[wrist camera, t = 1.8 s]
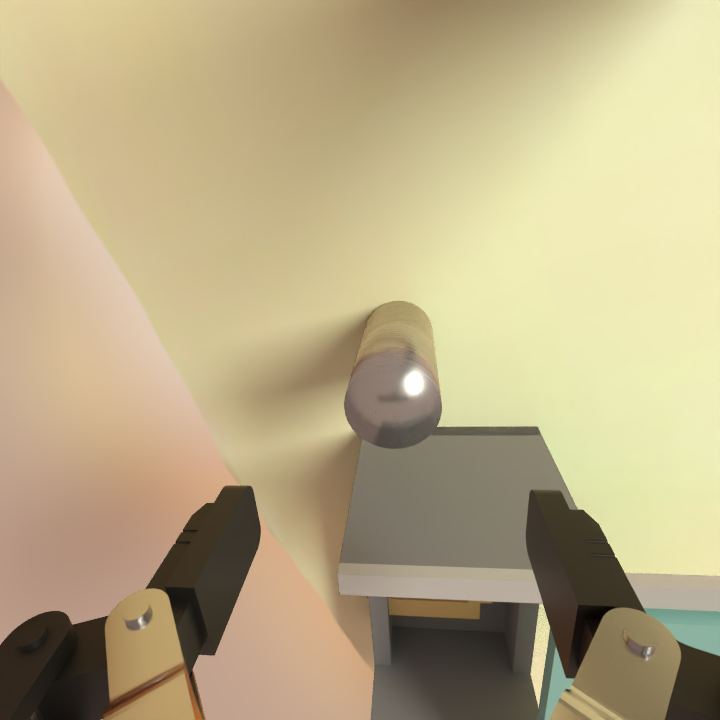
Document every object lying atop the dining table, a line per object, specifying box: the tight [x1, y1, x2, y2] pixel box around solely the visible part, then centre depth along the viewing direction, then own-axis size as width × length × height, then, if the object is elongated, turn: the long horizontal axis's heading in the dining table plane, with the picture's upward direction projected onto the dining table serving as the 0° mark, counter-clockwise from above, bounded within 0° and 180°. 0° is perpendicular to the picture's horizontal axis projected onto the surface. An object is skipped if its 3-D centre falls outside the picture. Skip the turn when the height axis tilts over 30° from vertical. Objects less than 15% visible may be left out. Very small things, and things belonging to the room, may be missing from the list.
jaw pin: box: [344, 301, 442, 449], centre depth 22 cm, size 4×4×9 cm
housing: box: [337, 427, 720, 720], centre depth 26 cm, size 19×20×12 cm
